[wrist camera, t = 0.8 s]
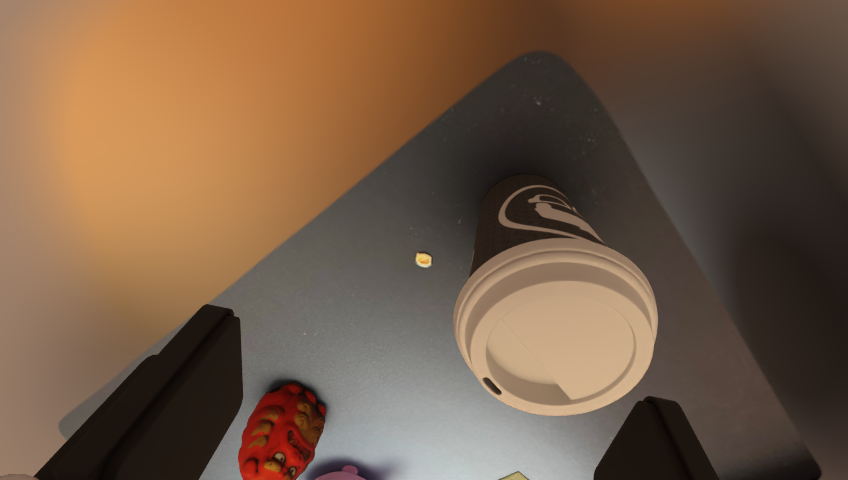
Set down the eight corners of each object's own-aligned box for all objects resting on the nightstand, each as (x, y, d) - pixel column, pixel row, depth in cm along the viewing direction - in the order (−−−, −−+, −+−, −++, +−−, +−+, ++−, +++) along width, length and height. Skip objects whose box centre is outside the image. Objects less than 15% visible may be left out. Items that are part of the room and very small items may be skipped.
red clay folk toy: (343, 418, 45) (289, 587, 32) (291, 435, 47) (221, 599, 34) (299, 370, 42) (221, 531, 29) (247, 390, 44) (152, 549, 31)
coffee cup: (445, 171, 31) (426, 287, 18) (580, 137, 29) (670, 240, 16) (475, 278, 35) (478, 437, 22) (596, 255, 33) (678, 415, 20)
